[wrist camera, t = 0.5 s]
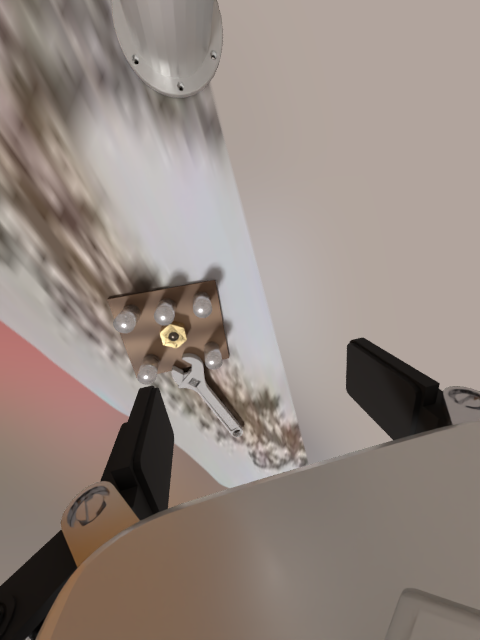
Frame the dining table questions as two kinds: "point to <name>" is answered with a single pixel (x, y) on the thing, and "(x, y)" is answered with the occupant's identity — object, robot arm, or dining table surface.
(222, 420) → the adjustable wrench
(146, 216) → the dining table surface
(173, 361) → the board
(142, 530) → the robot arm
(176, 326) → the nut
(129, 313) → the spacers
